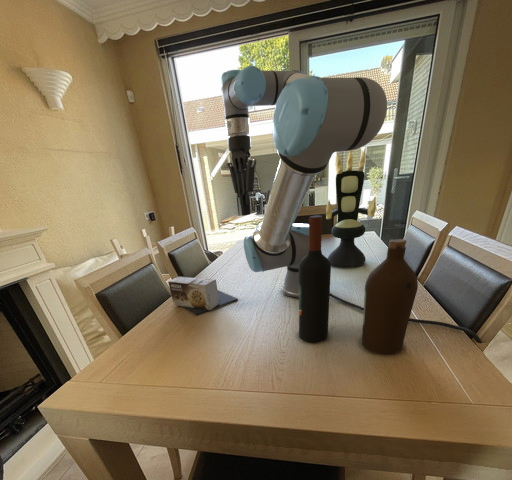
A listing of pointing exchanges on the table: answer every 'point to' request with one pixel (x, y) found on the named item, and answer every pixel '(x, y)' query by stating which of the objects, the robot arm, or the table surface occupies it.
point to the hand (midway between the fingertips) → (246, 214)
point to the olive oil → (388, 301)
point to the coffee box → (194, 292)
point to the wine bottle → (314, 288)
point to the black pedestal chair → (348, 213)
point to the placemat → (223, 300)
